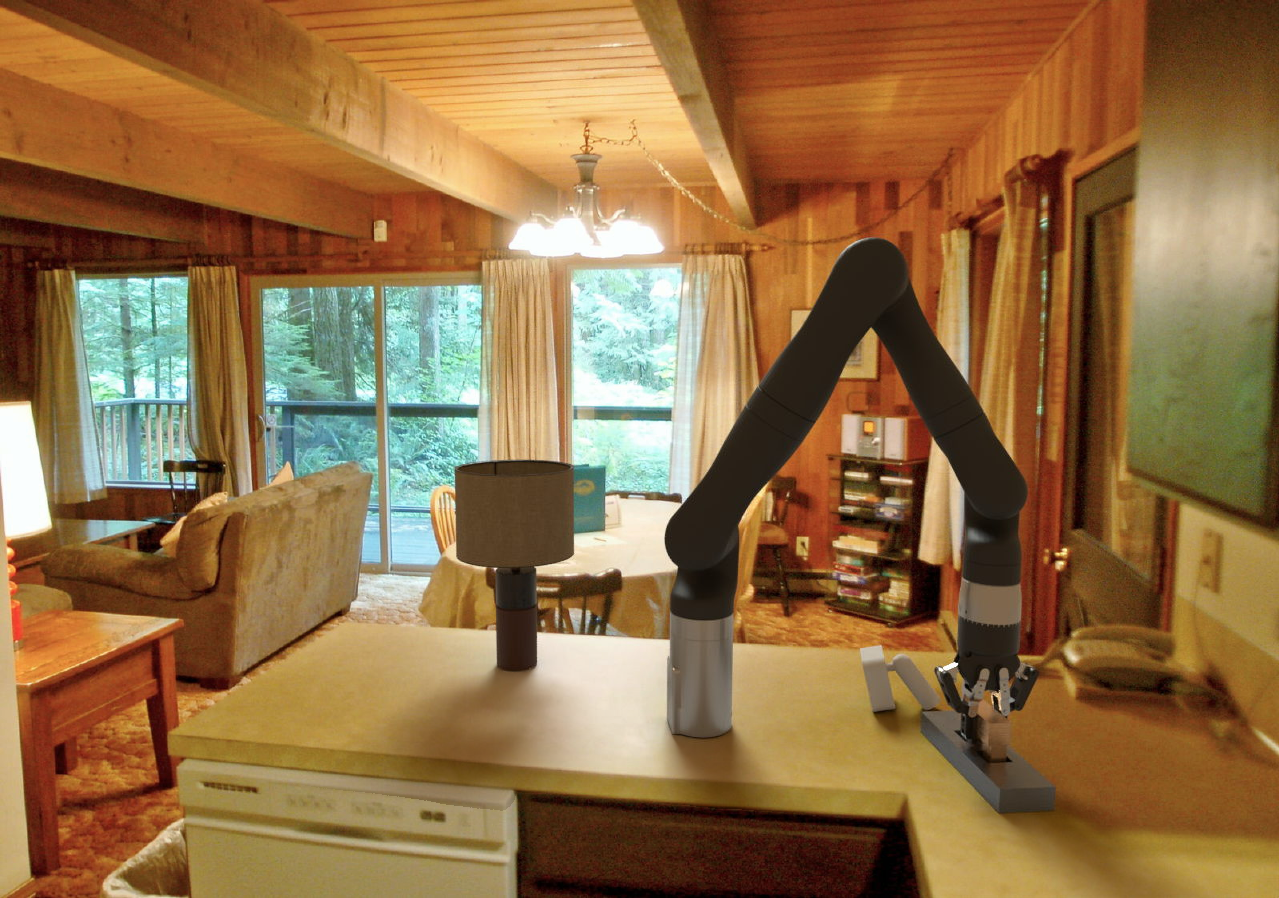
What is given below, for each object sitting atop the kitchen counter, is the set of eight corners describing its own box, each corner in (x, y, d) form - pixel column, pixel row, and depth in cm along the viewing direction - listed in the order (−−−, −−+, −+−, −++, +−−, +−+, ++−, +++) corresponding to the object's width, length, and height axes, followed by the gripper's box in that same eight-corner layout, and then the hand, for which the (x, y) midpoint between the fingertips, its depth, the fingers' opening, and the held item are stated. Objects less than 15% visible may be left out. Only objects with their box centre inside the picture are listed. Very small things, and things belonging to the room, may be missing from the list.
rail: (1054, 810, 102) (1055, 786, 101) (998, 812, 101) (999, 789, 101) (966, 729, 124) (967, 709, 123) (920, 731, 123) (921, 711, 122)
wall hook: (946, 716, 126) (932, 652, 126) (875, 726, 129) (861, 663, 128) (938, 695, 134) (925, 635, 134) (872, 705, 137) (859, 645, 136)
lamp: (568, 686, 139) (567, 475, 135) (446, 685, 139) (441, 474, 135) (579, 644, 159) (578, 459, 155) (471, 643, 159) (468, 459, 155)
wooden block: (1009, 763, 108) (1011, 722, 107) (987, 764, 108) (989, 723, 107) (978, 735, 116) (980, 697, 115) (957, 736, 116) (959, 698, 115)
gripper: (950, 624, 106) (944, 756, 107) (1057, 620, 107) (1049, 751, 109) (924, 606, 113) (919, 730, 115) (1024, 603, 114) (1018, 725, 116)
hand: (983, 739), depth 112 cm, fingers closed on wooden block, 3 cm apart
